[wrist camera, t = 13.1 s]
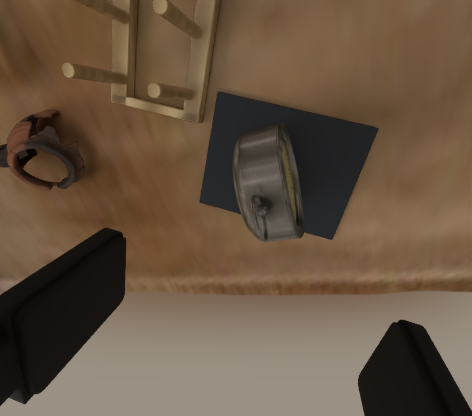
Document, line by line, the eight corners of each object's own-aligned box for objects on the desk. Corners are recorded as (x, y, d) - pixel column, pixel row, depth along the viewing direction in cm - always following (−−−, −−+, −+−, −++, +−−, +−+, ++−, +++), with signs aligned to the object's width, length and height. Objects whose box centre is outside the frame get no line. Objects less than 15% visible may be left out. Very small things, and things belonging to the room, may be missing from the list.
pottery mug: (74, 97, 34) (50, 128, 29) (109, 156, 41) (97, 190, 35) (-13, 116, 35) (-53, 150, 29) (37, 171, 41) (12, 208, 36)
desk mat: (377, 127, 28) (378, 128, 27) (331, 238, 33) (332, 240, 33) (218, 91, 30) (217, 91, 29) (200, 201, 35) (199, 202, 35)
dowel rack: (230, -68, 24) (195, -166, 16) (202, 122, 31) (166, 128, 23) (123, -85, 26) (35, -183, 17) (119, 102, 33) (55, 100, 24)
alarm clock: (305, 207, 32) (313, 293, 17) (262, 215, 34) (237, 299, 19) (287, 117, 29) (280, 129, 14) (241, 130, 30) (191, 152, 16)
